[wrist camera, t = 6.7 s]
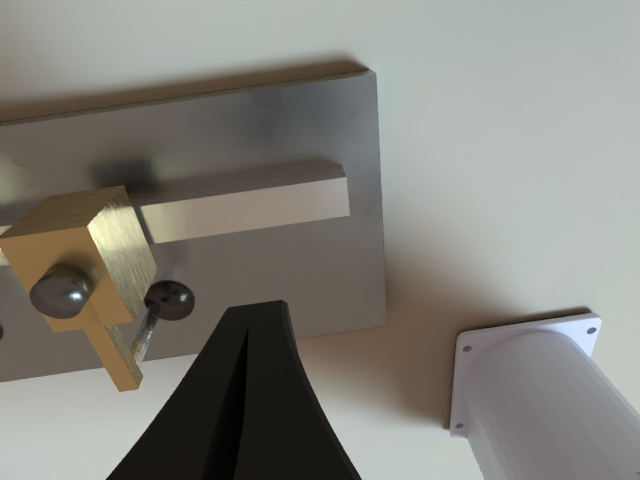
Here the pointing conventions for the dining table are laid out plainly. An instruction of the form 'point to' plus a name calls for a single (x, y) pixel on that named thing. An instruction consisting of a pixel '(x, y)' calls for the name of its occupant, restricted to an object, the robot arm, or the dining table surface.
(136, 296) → the sliding leg
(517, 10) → the dining table surface
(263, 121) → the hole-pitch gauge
